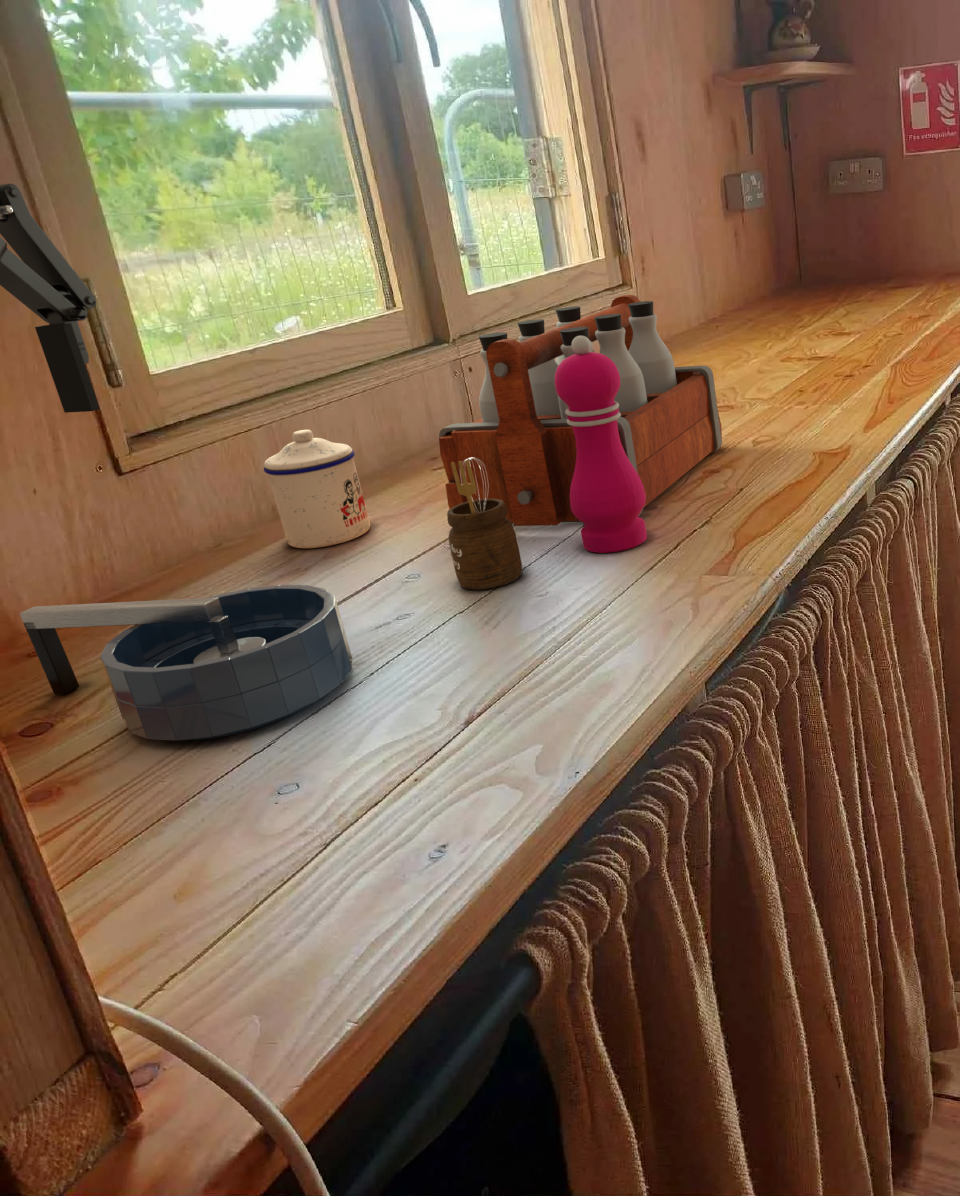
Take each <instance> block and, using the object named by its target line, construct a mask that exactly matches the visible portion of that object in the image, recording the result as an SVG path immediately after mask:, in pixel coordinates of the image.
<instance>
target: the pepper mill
mask: <svg viewBox="0 0 960 1196" xmlns="http://www.w3.org/2000/svg"><path fill="white" fill-rule="evenodd" d="M571 346H572V350H573V351H574V352H575V353H576V354H574V355H571V356H569V357H567V358H566V359H564V360H563V361H562V362H561V363H560V364H559V366H558V367H557V369H556V373H555V389H556V392H557V394H558V396H559V397H560V398H561V399H562V400H563V401H564V402H565V403H566V404H567V405H568V407H569V408H567V409H566V411H565V413H566V415H568V416H567V418H568V420H567V423H568V424H569V425H571V426H572V427H573V431H574V435H575V439H576V449H577V455H576V465H575V470H574V474H573V478H572V482H571V486H570V505H571V510H572V512H573V514H574V515H575V516H576V517H577V518H578V519H579V520H580V521H581V522H580V523H582V524H584V526H583V527H581V529H580V537H581V543H582V548H583V549H585V550H586V551H587V552H590V553H595V554H596V553H597V554H609V553H611V554H612V553H619V552H623V551H627V550H630V549H634V548H635V547H638V546H640V545H642V544H643V543H644V542H646V540H647V538H648V534H647V528H646V522H645V520H644V519H643V518H641V517H640V515H641V514H640V512H641V510H642V509H643V510H644V508H645V507H644V505H645V502H646V495H645V491H644V487H643V484H642V482H641V480H640V477H639V475H638V473H637V472H636V470H635V469H634V467H633V466H632V464H631V462H630V461H629V459H628V457H627V455H626V454H625V452H624V449H623V447H622V444H621V441H620V437H619V433H618V425H617V419H618V418H620V416H621V414H620V412H619V409H618V407H619V403H618V402H616V401H614V398H615V396H616V394H617V392H618V391H619V388H620V375H619V372H618V369H617V367H616V365H615V364H614V363H613V361H612V360H611V359H610V358H608V357H607V356H605V355H603V354H600V352H599V353H598V352H596V351H595V352H589V351H590V349H591V342H590V340H589V339H588V338H587V337H585V336H577V337H575V338H574V339H573V341H572V345H571ZM643 507H644V508H643ZM639 514H640V515H639ZM638 515H639V516H638Z"/></svg>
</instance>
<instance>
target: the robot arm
mask: <svg viewBox="0 0 960 1196" xmlns="http://www.w3.org/2000/svg"><path fill="white" fill-rule="evenodd" d="M1 236H2V237H1ZM8 245H9V246H10V248H11V249H12V250H13V251H14V253H13V251H11V250H10V249H9V248H8ZM0 286H1V287H2V288H3V289H4V290H6V291H7V292H8V293H9V294H10V295H12V297H14V298H16V300H18V301H19V302H20V303H21V304H23V305H24V306H25V307H26V308H28V309H29V310H30V311H31V312H32V313H34V314H35V315H36V316H37V317H39V318H40V319H41V320H42V321H44V322H45V323H47V324H43V325H39V326H38V325H37V326H34V329H35V331H36V334H37V338H38V340H39V343H40V346H41V349H42V352H43V355H44V358H45V361H46V363H47V366H48V369H49V372H50V376H51V378H52V380H53V383H54V386H55V389H56V392H57V396H58V397H59V401H60V403H61V407H62V409H63V412H64V413H65V414H67V413H85V412H86V413H87V412H95V411H98V410H101V407H100V405H99V403H98V398H97V395H96V393H95V390H94V387H93V383H92V382H91V378H90V375H89V372H88V369H87V366H86V365H87V364H89V363H90V359H89V358H90V356H89V352H88V350H87V345H86V343H85V340H84V338H83V334H82V331H81V328H80V325H79V322H83V321H85V320H86V319H87V318H88V309H89V310H90V309H94V308H95V307H96V305H97V299H96V297H95V295H94V294H93V293H92V292H91V290H90V289H89V288H88V286H87V285H86V284H85V282H84V281H83V280H82V279H81V278H80V276H79V274H77V272H76V271H75V270H74V269H73V267H72V266H71V264H70V263H69V262H68V261H67V260H66V258H65V257H64V256H63V254H62V253H61V252H60V250H59V249H58V248H57V247H56V246H55V244H54V243H53V242H52V240H51V239H50V238H49V236H48V235H47V234H46V233H45V230H43V229H42V227H41V226H40V225H39V224H38V222H37V221H36V220H35V218H34V217H33V215H31V212H30V211H29V208H28V205H27V203H26V201H25V199H24V196H23V194H22V192H21V190H20V188H19V187H18V186H17V185H16V184H14V183H3V184H0Z"/></svg>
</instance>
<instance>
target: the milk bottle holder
mask: <svg viewBox="0 0 960 1196" xmlns="http://www.w3.org/2000/svg"><path fill="white" fill-rule="evenodd" d="M555 313H556V317H557V319H558V321H556V327H555V328H554V329H551V330H548V331H545V319H543V318H542V319H541V318H539V319H530V320H523V321H519V322H517V326H518V330H519V332H520V335H519V336H518V341H517V340H516V339H512V338H508V332H503V331H502V332H492V333H486V334H482V335H479V336H478V339H479V341H480V345H481V348H482V349H481V350H480V353H479V354H480V356H481V358H482V360H483V363H484V365H485V375H484V379H483V382H482V385H481V389H480V391H479V392H480V393H479V397H478V404H479V411H480V416H481V418H479V419H477V420H475V421H473V422H465V423H464V422H463V423H452V424H451V423H450V424H449V425H447V426H445V427H443V428H441V429H440V431H439V433H438V443H439V452H440V453H439V455H440V459H441V461H442V465H443V468H444V472H445V474H446V477H447V481H448V482H446V483H445V491H446V498H447V505H448V510H449V509H450V508H452V507H454V506H456V505H459V504H461V503H465V502H468V498H467V496H464V495H461V494H459V492H458V488H457V485H456V481H455V477H454V473H453V470H452V466H451V463H452V462H454V463H455V466H456V470H457V473H458V477H459V481H460V484H464V483H463V479H462V475H461V477H460V473H461V471H460V468H459V464H458V462H459V461H461V462H463V461H464V460H466V459H468V458H470V459H468V460H469V462H470V466H471V470H472V473H473V477H474V481H475V485H476V489H477V490H476V492H475V493H476V495H475V493H474V494H472V495H471V496H472V497H471V498H472V499H473V500H479V498H480V499H483V498H484V499H499V500H502V501H503V502H504V504H505V506H506V509H507V516H506V517H505V518H507V519H508V520H510V522H511V523H512V524H513V527H538V526H539V527H540V526H541V527H542V526H543V527H544V526H558V525H560V524H562V523H563V524H564V523H567V524H569V523H570V524H571V523H582V522H581V521H580V520H579V519H578V518H577V517H576V516H575V515H574V514H573V512H572V510H571V505H570V486H571V482H572V478H573V474H574V470H575V465H576V455H577V449H576V439H575V435H574V431H573V427H572V426H571V425H569V424H568V423H567V420H568V418H567V416H568V415H566V413H565V411H566V409H567V408H569V407H568V405H567V404H566V403H565V402H564V401H563V400H562V399H561V398H560V397H559V396H558V394H557V392H556V389H555V373H556V369H557V367H558V366H559V364H560V363H561V362H562V361H563V360H564V359H566V358H567V357H569V356H571V355H574V354H576V353H575V352H574V351H573V350H572V346H571V345H572V341H573V339H574V338H575V337H577V336H585V337H587V338H588V339H589V340H590V342H591V349H590V351H589V352H595V353H596V351H595V350H594V343H593V342H596V341H597V342H598V345H599V353H600V354H603V355H605V356H607V357H608V358H610V359H611V360H612V361H613V363H614V364H615V365H616V367H617V369H618V372H619V375H620V388H619V391H618V392H617V394H616V396H615V398H614V401H616V402H618V403H619V407H618V409H619V412H620V414H621V416H620V418H618V419H617V425H618V433H619V437H620V441H621V444H622V447H623V449H624V452H625V454H626V455H627V457H628V459H629V461H630V462H631V464H632V466H633V467H634V469H635V470H636V472H637V473H638V475H639V477H640V480H641V482H642V484H643V487H644V491H645V495H646V502H645V505H644V507H643V509H642V510H641V512H640V514H639V515H638V517H640V516H641V514H642V513H643V510H644V508H645V507H647V506H648V505H649V504H650V503H651V502H653V500H655V499H656V498H657V497H659V496H660V495H661V494H662V493H663V492H664V491H666V490H667V489H668V488H670V487H671V486H672V485H673V484H674V483H675V482H677V481H678V480H679V479H681V478H682V477H683V476H684V475H685V474H687V472H689V471H690V470H691V469H692V468H694V467H695V466H696V465H697V464H698V463H700V461H702V460H703V459H704V458H706V457H707V456H708V455H712V454H715V453H716V452H717V451H718V450H720V449H721V447H722V445H723V434H722V433H723V431H722V428H723V427H722V422H721V418H720V414H719V410H718V401H717V393H716V385H715V377H714V372H713V370H712V368H710V367H709V366H708V365H705V364H703V365H686V366H675V361H674V357H673V355H672V353H671V351H670V350H669V348H668V347H667V345H666V343H665V342H664V341H663V340H662V338H661V337H660V335H659V333H658V329H657V321H658V316H657V314H656V313H654V301H652V300H646V301H645V300H644V301H641V300H640V299H639V297H638V296H635V295H633V294H623V295H620V296H617V297H615V298H614V299H613V300H612V301H611V304H610V307H608V308H606V309H603V310H601V311H599V312H596V313H593V314H591V315H588V316H585V317H583V318H581V317H582V316H581V315H582V314H581V313H582V312H581V306H566V307H560V308H557V309H555ZM472 458H477V460H476V459H475V460H474V459H472ZM471 459H472V460H471ZM478 459H479V460H478ZM472 461H473V463H472ZM465 462H466V461H465ZM465 462H463V463H464V465H463V468H464V472H466V478H467V482H468V483H471V481H470V477H469V473H468V469H467V466H466V464H465ZM477 462H478V463H477ZM463 463H462V464H463ZM480 463H481V464H480ZM478 464H479V465H478ZM483 464H484V465H483ZM473 465H474V467H473ZM481 465H482V466H481ZM479 466H480V467H479ZM484 466H485V467H484ZM482 467H483V469H482ZM474 469H475V472H474ZM480 469H481V471H480ZM485 469H486V470H485ZM483 471H484V473H483ZM481 473H482V475H481ZM486 473H487V475H486ZM475 474H476V477H475ZM484 475H485V478H484ZM487 477H488V480H487ZM482 478H483V480H482ZM476 479H477V482H476ZM461 480H462V483H461ZM485 481H486V485H485ZM483 483H484V488H483ZM488 484H489V490H488ZM477 485H478V488H477ZM478 491H479V494H478ZM485 493H486V498H485ZM487 494H488V497H487ZM476 497H477V499H476ZM473 500H472V501H473Z"/></svg>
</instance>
